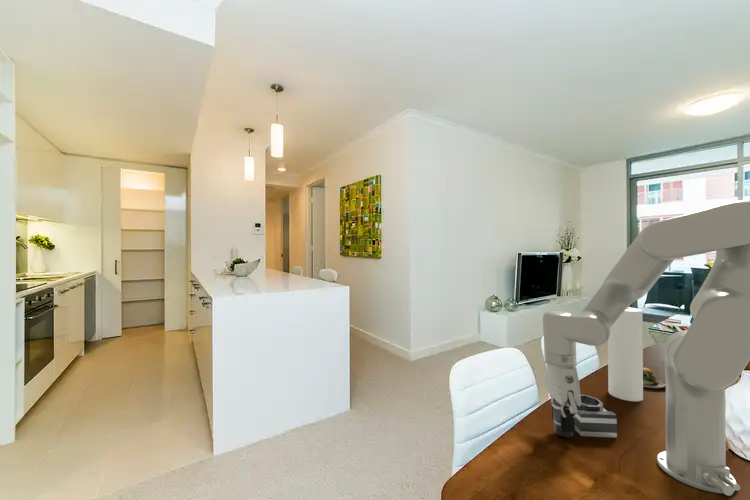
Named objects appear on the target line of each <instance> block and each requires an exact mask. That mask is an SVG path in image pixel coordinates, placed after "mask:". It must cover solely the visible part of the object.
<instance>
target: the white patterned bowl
mask: <svg viewBox="0 0 750 500" xmlns="http://www.w3.org/2000/svg"><path fill="white" fill-rule="evenodd" d="M645 366H646V365H645V364H643V388H648V389H649V388H650V389H661V388H664V389H665V390H666V381H663V380H661V379H659V378H656V376H654V375H653V374H654V372H653V371H652V370H651V368H648V367H645Z"/></svg>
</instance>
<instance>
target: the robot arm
mask: <svg viewBox="0 0 750 500" xmlns="http://www.w3.org/2000/svg"><path fill="white" fill-rule="evenodd" d="M711 252H715V260H714V262H713V264H712V267H711V268H710V270H709V272H708V275H707V276H706V278H705V279H704V281H703V283H702V284H701V286H700V288H699V290H698V292H697V293H696V294H695V296H694V297H693V299H692V301H691V303H690V305H689V311H690V315H691V316H692V319H693V320H692V322H691V323H690V326H689V327H688V329H687V330H686V329H685V330H679V331H676V332H674V333H673V334H671V335H670V336H669V337H668V338H667V339H666V341H665V343H664V347H663V361H664V374H665V375H664V376H665V383H666V389H665V450H664V451H662V452H659V453H658V454H657V455H656V456H657V457H656V461H657V462H656V463H657V464H658V466H659V468H661V469H662V471H664V472H665V473H667V474H668V475H669V476H670V477H673V479H675V480H677V481H678V482H680V483H683V484H685V485H687V486H690V487H693V488H695V489H698V490H702V491H705V492H710V493H714V494H724V495H726V496H727V497H728V496H732V495H734V492H735V491H740V490H741V486H740V484H739V483H737V481H736V478H735V477H734V476H733V475H732V474H731V473H730V471H731V470H730V468H729V467H728V466H726V465H727V464H726V463H727V462H726V461H727V460H726V457H727V456H726V448H727V447H726V445H727V444H726V442H727V441H726V440H727V439H726V411H727V409H726V405H727V404H726V388H727V387H729V386H731V385H733V383H734V382H736V381H737V379H739V377H740V376H741V375H742V373H743V372H744V370H745V369H746V368H747V365H748V364H749V363H750V200H737V201H736V200H735V201H731V202H727V203H726V202H725V203H724V204H720V205H715V206H713V207H710V208H709V207H708V208H706V209H701V210H698V211H694V212H691V213H687V214H683V215H678V216H675V217H670V218H667V219H661V220H658V221H654V222H651V223H650V224H648V225H647V226H644V228H643V229H641V230H640V231H639V232H638V235H637V236H636V237H635V238H634V240H633V241H632V242H631V244H630V245H629V247H627V249H626V251H625V252H624V253H623V255H622V256H621V257H620V258H619V260H618V261H617V262H616V264H615V265H614V266H613V268H612V269H611V270H610V272H609V273H608V274H607V275H606V277H605V279H604V280H603V281H604V282H603V283H602V284H601V286H600V287H599V289H598V290H597V292H595V294H594V296H593V297H592V298H591V299H590V300H589V302H588V303H587V305H586V306H585V307H584V308H583V310H582V311H581V312H580V313H579V315H573V314H572V313H570V312H568V311H561V310H553V311H552V310H550V311H546V312H544V314H543V316H542V327H543V328H542V329H543V353H544V363H545V364H546V369H545V370H546V373H545V374H546V375H545V378H546V379H545V381H546V389H547V392H548V393H549V395H550V404H551V420H552V421H553V418H554V417H553V406H552V402H553V400H554V399H555V400H556V401H557V402H558V403H559V404H560V405H561V412H562V416H560V419H561V430H562V432H573V433H575V432H576V430H575V423H574V418H575V414H576V413H578V410H577V407H576V405H577V406H581V395H582V394H581V389H580V388H581V387H580V380H579V379H580V378H579V374H578V370H577V363H578V362H577V343H578V344H582V345H587V346H592V347H593V346H594V347H597V346H598V347H599V346H602V345H605V344H606V343H608V340H609V338H610V328H611V327H612V326H613V324H614V323H615V322H616V320H617V319H618V318H619V317H620V315H621V314H622V313H623V312H624V311H625V310H626V309H627V308H628V307H631V305H632V304H633V303H634V302H636V301H638V300H639V299H641V298H643V297H645V295H646V294H647V293H649V292H650V291H651V289H652V288H653V286H654V285H655V284H656V282H657V281H658V280H659V279H660V277H661V276H662V275H663V274H664V273H665V271H666V270H667V269H668V268H669V267H670V266H671V265H672V263H673V262H674V260H676V259H680V258H687V257H691V256H698V255H701V254H706V253H707V254H708V253H711ZM565 402H568V404H565ZM565 407H569V409H567V410H566V411H565Z"/></svg>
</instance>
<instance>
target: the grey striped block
mask: <svg viewBox="0 0 750 500" xmlns="http://www.w3.org/2000/svg"><path fill="white" fill-rule="evenodd" d="M580 395H581V406H577V405H576V407H577V410H578V413H576V414H575V418H574V423H575V432H576V433H577V434H579V436H581V437H590V438H591V437H595V438H610V439H611V438H614V439H615V438H616V439H617V438H618V421H617V420H618V415H617V414H616V413H614V411H609V410H606V408H604V403H603V401H601V400H600V399H598V398H597V397H593V396H590V395H587V394H580Z"/></svg>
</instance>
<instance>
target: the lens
mask: <svg viewBox="0 0 750 500" xmlns="http://www.w3.org/2000/svg"><path fill="white" fill-rule="evenodd" d="M565 404H568V402H565ZM552 406H553V417H554V418H553V420H552V422H553V432H554V433H555V434H556V435H558V436H560V437H564V438H570V437H571V438H572V437H573V436H574V432H562V430H561V419H560V416H562V412H561V405H560V404H559V403H558V402H557V401H556V400H555V399H554V400H553V402H552V405H551V407H552ZM567 409H569V407H565V411H566V410H567Z"/></svg>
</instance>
